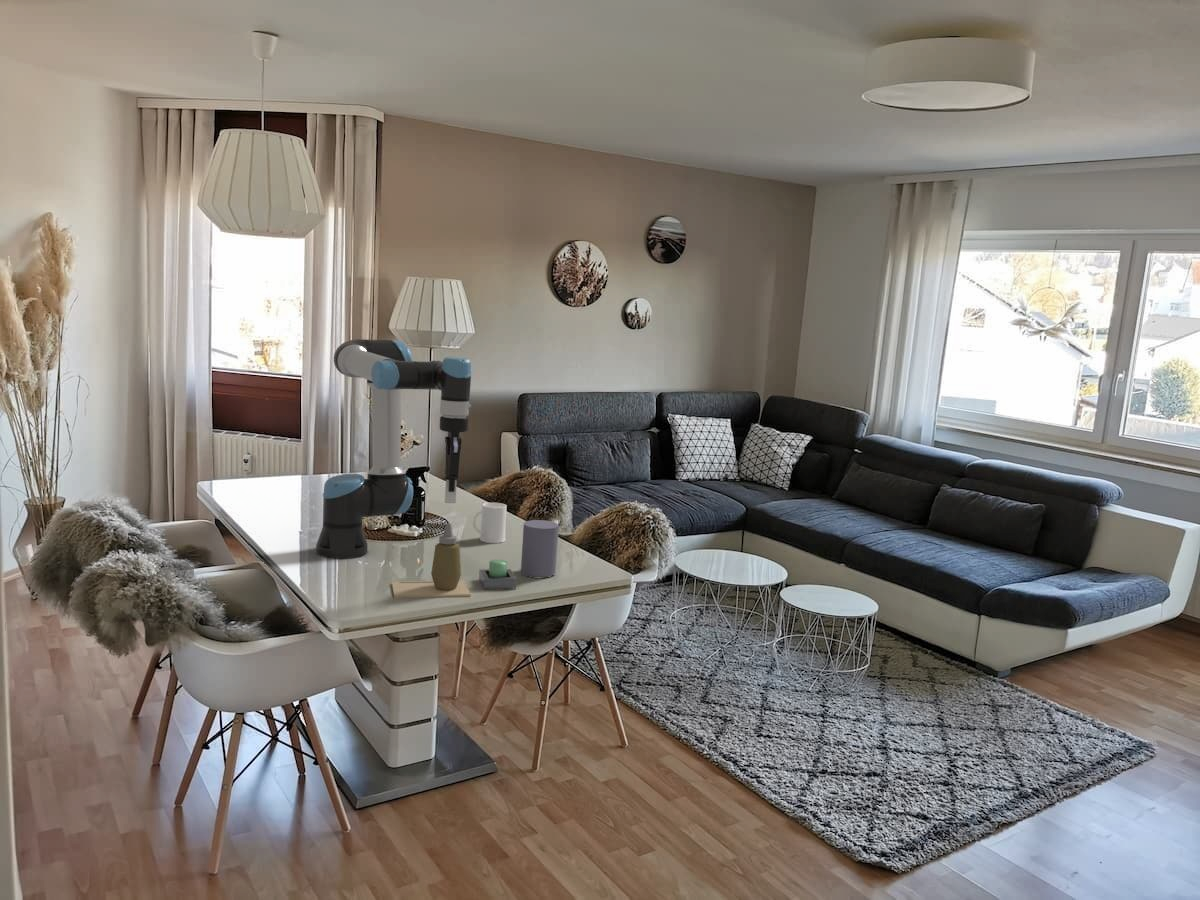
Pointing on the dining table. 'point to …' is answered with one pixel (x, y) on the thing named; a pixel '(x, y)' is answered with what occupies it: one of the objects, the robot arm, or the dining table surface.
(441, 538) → the squeeze bottle
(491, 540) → the mug
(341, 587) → the dining table surface
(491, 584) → the button housing
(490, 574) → the button
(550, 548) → the container
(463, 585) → the sketch pad
